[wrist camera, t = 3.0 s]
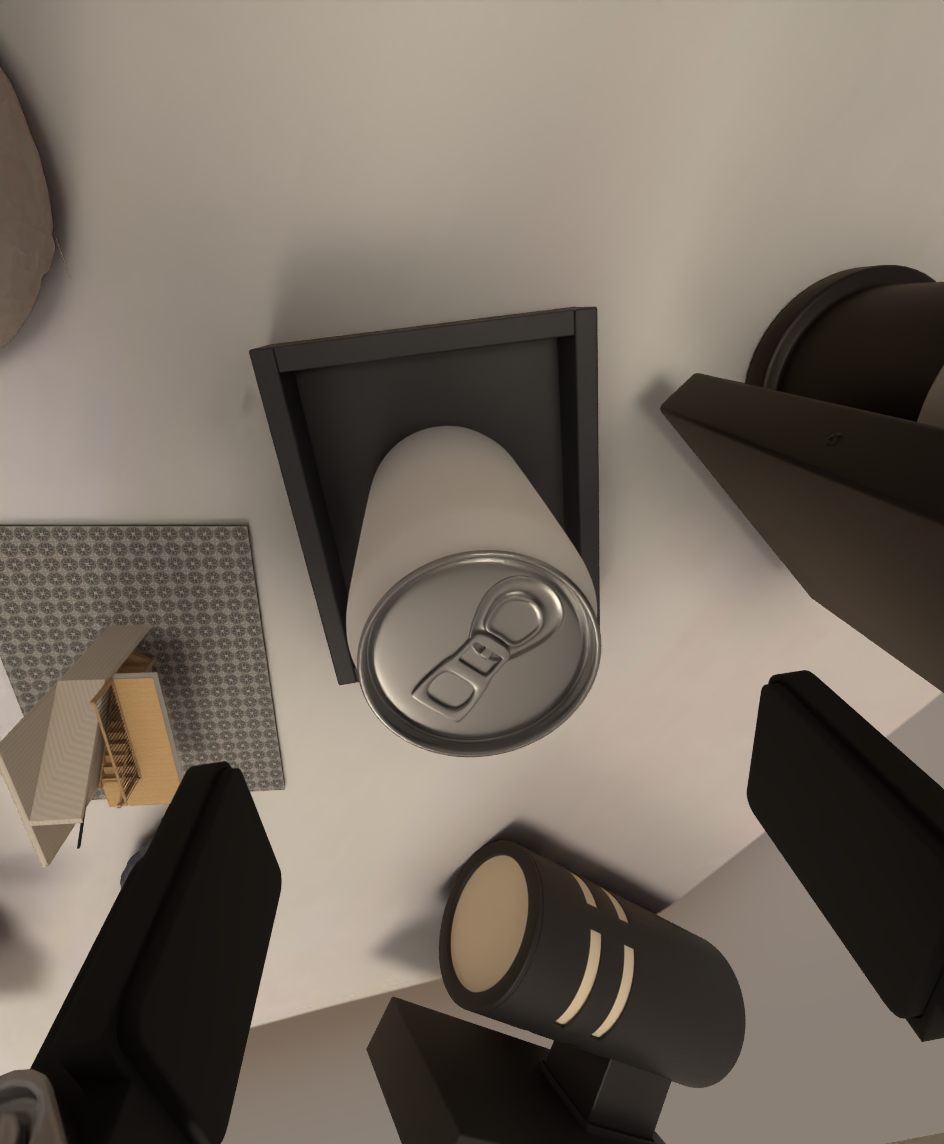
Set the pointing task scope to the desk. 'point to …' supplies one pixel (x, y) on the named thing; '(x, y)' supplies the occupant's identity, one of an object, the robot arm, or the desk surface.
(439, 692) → the can
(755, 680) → the desk surface
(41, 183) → the sculpture
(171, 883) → the robot arm
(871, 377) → the light fixture
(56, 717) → the gray miniature diorama
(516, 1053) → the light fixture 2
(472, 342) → the tray
